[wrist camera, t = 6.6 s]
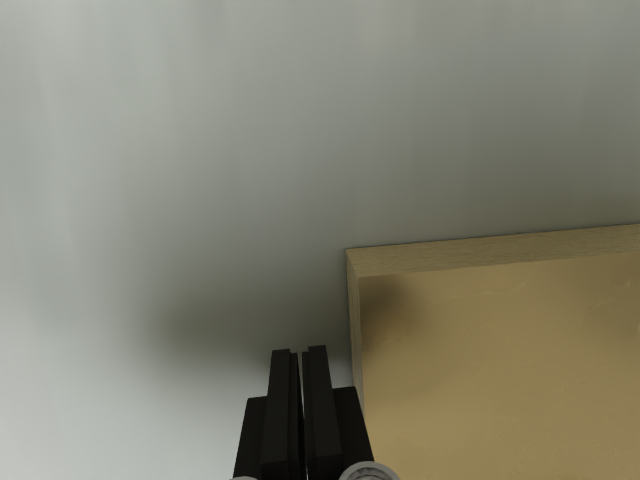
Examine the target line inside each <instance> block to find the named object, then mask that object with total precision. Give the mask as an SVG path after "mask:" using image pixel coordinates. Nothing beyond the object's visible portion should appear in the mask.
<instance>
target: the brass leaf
mask: <svg viewBox="0 0 640 480" xmlns="http://www.w3.org/2000/svg"><path fill="white" fill-rule="evenodd" d="M346 266H347V284H348V301H349V319H350V337H351V354H352V372H353V386H355V387H356V390H357V394H358V398H359V402H360V405H361V409H362V413H363V417H364V421H365V425H366V429H367V433H368V437H369V441H370V445H371V449H372V453H373V457H374V461H375V462H378V463H381V464H383V465H385V466H387V467H389V468H390V469H391V470H392V471H394V472H395V473H396V474H397V476H398V477H399V478H400V480H640V224H629V225H618V226H606V227H595V228H583V229H572V230H560V231H549V232H538V233H526V234H515V235H503V236H492V237H480V238H469V239H457V240H446V241H434V242H423V243H411V244H400V245H388V246H377V247H365V248H354V249H346Z"/></svg>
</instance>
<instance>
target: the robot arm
mask: <svg viewBox="0 0 640 480" xmlns="http://www.w3.org/2000/svg"><path fill="white" fill-rule="evenodd" d="M308 349H309V351H308V352H302V368H303V396H304V413H303V404H302V394H301V385H300V375H299V366H298V357H297V353H291V352H290V349H282V350H273V351H272V357H271V366H270V376H269V385H268V394H267V396H262V397H253V398H248V400H247V404H246V409H245V415H244V420H243V425H242V431H241V436H240V441H239V447H238V452H237V458H236V463H235V468H234V474H233V479H230V480H307V474H308V480H400V478H399V477H398V476H397V474H396V473H395V472H394V471H392V470H391V469H390V468H389V467H387V466H385V465H383V464H381V463H378V462H375V461H374V457H373V453H372V449H371V445H370V441H369V437H368V433H367V429H366V425H365V421H364V417H363V413H362V409H361V405H360V402H359V398H358V394H357V390H356V387H355V386H352V387H343V388H334V389H332V385H331V378H330V372H329V365H328V359H327V352H326V346H325V345H320V346H310V347H308Z"/></svg>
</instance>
